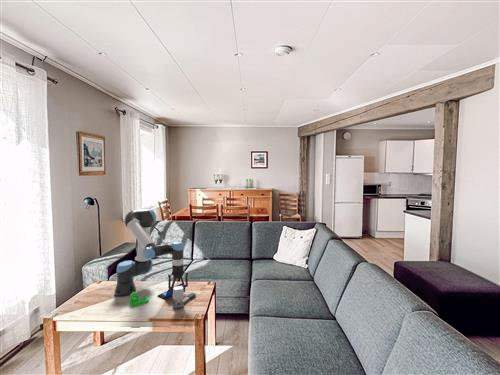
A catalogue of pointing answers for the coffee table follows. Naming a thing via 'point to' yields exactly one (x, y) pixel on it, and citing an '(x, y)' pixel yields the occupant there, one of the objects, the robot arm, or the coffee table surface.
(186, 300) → the ladle
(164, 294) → the handheld game console
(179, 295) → the grey metal block
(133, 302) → the mechanical part
